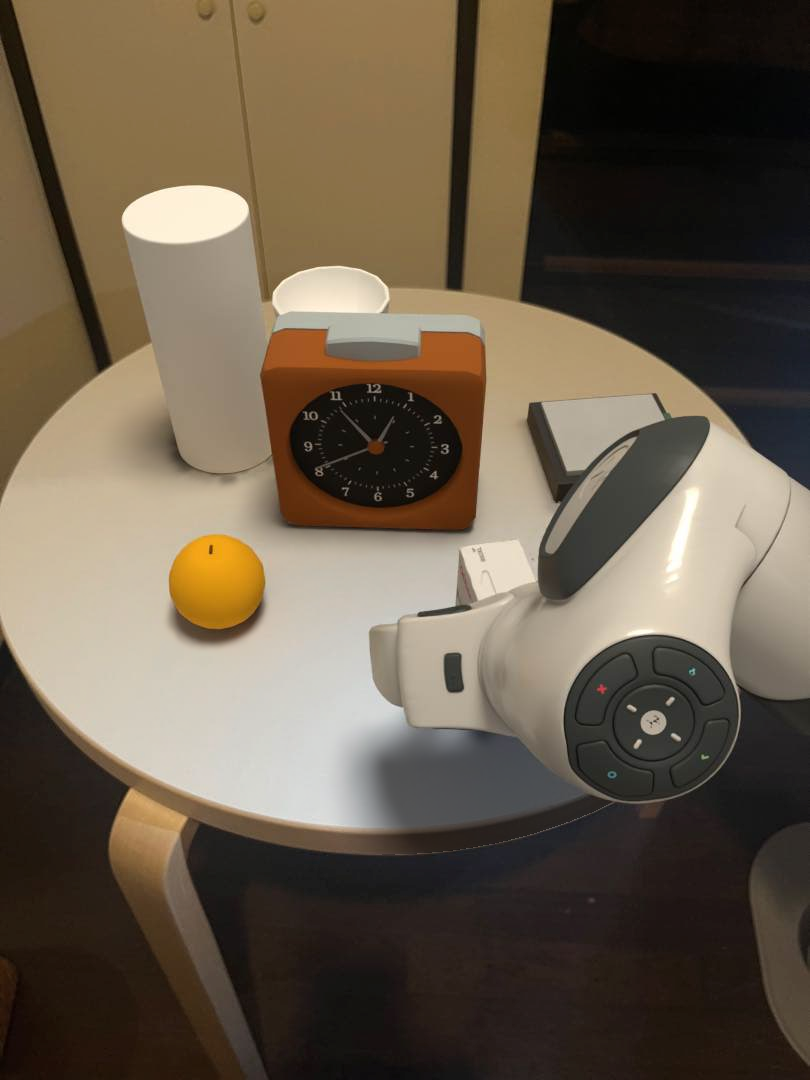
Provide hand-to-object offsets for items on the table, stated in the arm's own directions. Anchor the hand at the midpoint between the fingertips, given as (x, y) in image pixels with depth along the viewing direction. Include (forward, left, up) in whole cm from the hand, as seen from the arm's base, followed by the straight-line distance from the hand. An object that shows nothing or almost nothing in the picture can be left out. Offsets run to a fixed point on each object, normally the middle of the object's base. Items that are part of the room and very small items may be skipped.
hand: (502, 629), depth 63 cm
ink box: (0, -2, -8) cm, 9 cm away
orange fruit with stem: (+22, -12, -8) cm, 26 cm away
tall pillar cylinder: (+22, -35, -8) cm, 42 cm away
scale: (-17, -28, -8) cm, 34 cm away
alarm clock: (+7, -24, -8) cm, 26 cm away
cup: (+10, -44, -8) cm, 45 cm away
